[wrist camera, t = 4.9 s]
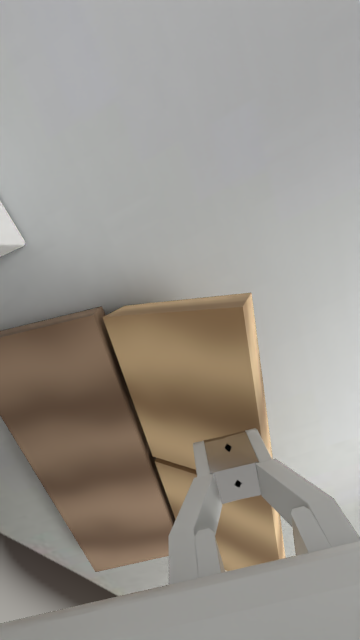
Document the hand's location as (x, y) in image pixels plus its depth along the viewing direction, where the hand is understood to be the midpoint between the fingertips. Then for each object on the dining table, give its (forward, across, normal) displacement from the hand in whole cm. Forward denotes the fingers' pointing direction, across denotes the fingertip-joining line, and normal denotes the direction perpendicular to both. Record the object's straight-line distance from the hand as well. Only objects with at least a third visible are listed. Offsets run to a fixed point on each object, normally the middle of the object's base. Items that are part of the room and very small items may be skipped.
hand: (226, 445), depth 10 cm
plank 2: (+4, +1, +11) cm, 12 cm away
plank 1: (+4, +1, -1) cm, 4 cm away
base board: (+7, +10, +5) cm, 13 cm away
